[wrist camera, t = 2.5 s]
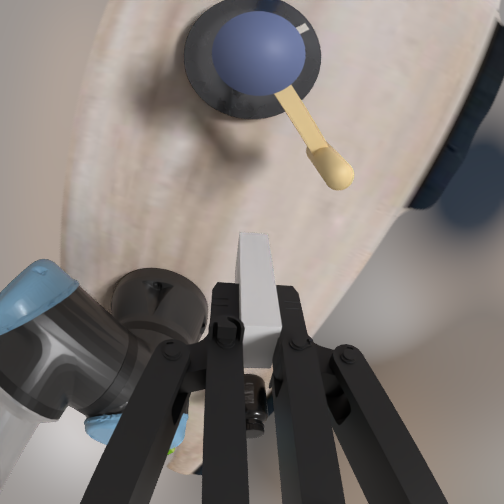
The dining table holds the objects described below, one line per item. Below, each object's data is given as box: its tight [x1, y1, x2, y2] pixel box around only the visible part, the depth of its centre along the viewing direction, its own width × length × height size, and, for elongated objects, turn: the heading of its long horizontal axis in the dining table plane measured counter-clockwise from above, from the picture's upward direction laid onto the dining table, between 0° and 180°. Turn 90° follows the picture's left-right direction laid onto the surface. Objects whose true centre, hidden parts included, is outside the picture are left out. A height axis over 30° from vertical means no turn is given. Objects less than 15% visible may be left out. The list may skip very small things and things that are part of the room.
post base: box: [184, 0, 321, 119], centre depth 26 cm, size 14×14×6 cm
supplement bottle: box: [244, 374, 268, 438], centre depth 56 cm, size 7×7×12 cm
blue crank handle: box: [212, 11, 354, 190], centre depth 23 cm, size 16×7×7 cm, turn 33°
